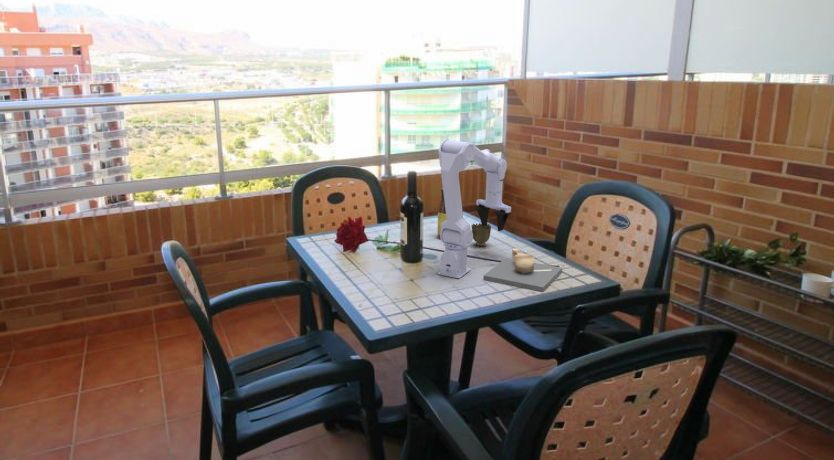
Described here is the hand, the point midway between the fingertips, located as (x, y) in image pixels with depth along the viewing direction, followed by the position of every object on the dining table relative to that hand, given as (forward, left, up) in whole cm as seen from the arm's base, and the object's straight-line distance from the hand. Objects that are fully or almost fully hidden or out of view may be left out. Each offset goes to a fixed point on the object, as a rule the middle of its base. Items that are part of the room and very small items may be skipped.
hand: (492, 228), depth 220 cm
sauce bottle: (+10, +23, -10) cm, 27 cm away
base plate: (-14, -18, -10) cm, 25 cm away
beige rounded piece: (-12, -15, -8) cm, 21 cm away
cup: (+8, +7, -10) cm, 15 cm away
